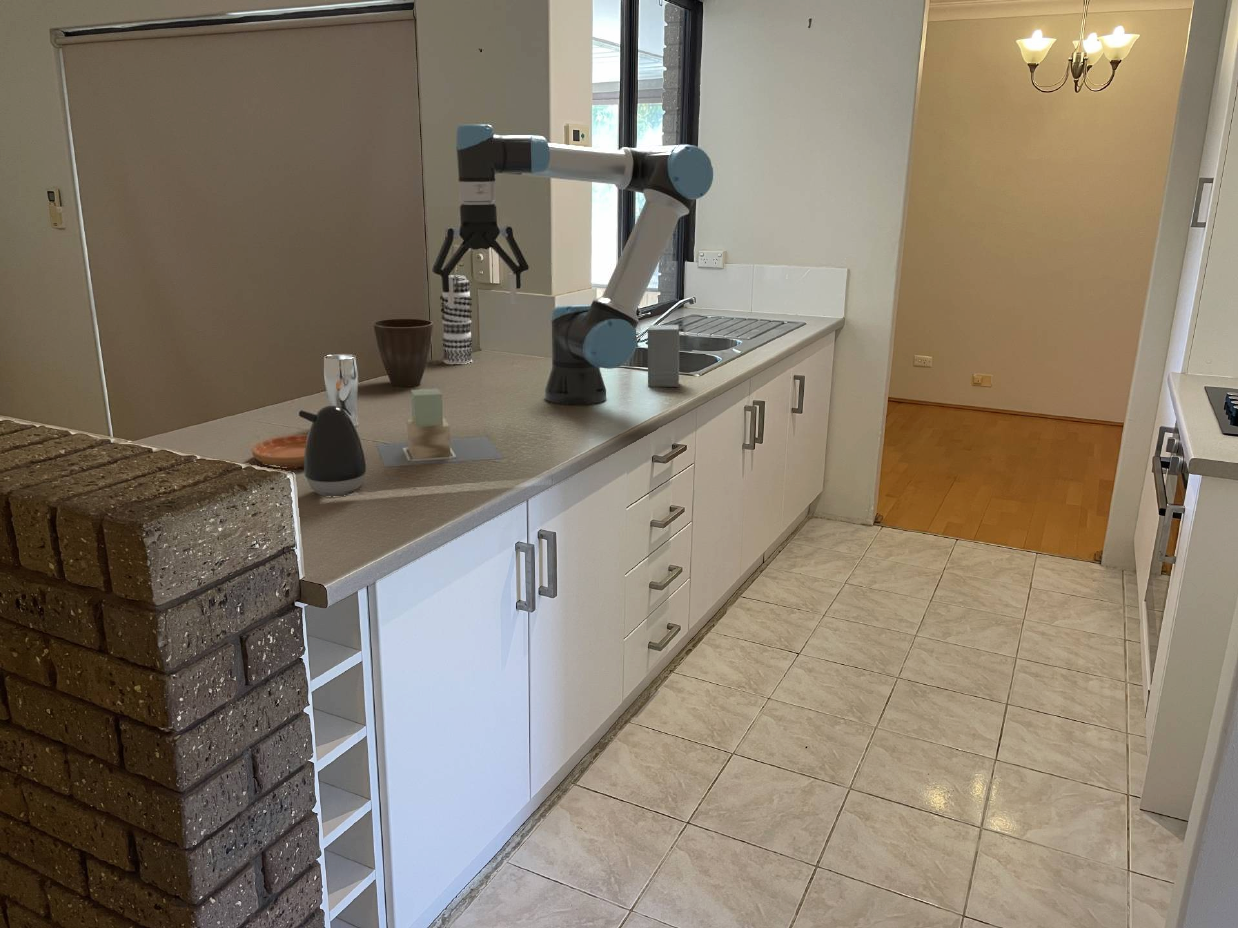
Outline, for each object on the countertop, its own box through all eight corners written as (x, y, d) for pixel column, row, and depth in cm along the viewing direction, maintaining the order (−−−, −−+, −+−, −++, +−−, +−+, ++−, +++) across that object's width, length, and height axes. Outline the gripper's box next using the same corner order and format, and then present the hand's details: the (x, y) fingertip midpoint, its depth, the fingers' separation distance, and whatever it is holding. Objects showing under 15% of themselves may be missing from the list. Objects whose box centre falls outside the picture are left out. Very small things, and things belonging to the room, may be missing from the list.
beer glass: (367, 423, 208) (363, 355, 204) (348, 430, 202) (344, 360, 197) (340, 419, 210) (335, 352, 206) (321, 427, 204) (316, 358, 200)
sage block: (438, 419, 183) (437, 388, 181) (442, 425, 179) (441, 394, 177) (412, 420, 182) (411, 390, 180) (416, 427, 177) (414, 395, 175)
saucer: (255, 475, 171) (254, 459, 170) (250, 452, 185) (249, 438, 184) (346, 467, 177) (345, 451, 176) (335, 445, 191) (334, 431, 190)
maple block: (444, 447, 186) (443, 417, 184) (450, 456, 180) (449, 426, 178) (408, 449, 184) (407, 419, 182) (412, 459, 178) (411, 428, 176)
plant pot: (444, 386, 246) (442, 324, 242) (389, 392, 238) (386, 328, 234) (421, 376, 258) (419, 317, 253) (368, 381, 250) (364, 320, 245)
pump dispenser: (311, 483, 167) (305, 399, 162) (372, 483, 167) (367, 399, 163) (297, 502, 157) (290, 413, 152) (362, 501, 158) (356, 413, 153)
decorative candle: (455, 366, 273) (453, 278, 265) (435, 361, 278) (432, 275, 271) (480, 362, 279) (478, 276, 272) (460, 358, 285) (457, 273, 278)
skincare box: (678, 383, 256) (681, 324, 251) (677, 388, 249) (680, 328, 244) (647, 382, 256) (649, 323, 252) (645, 387, 250) (647, 327, 245)
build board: (487, 442, 194) (487, 436, 194) (503, 464, 180) (503, 457, 180) (377, 450, 188) (376, 443, 187) (385, 473, 173) (384, 466, 173)
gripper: (420, 205, 189) (427, 311, 196) (540, 203, 198) (543, 305, 204) (414, 203, 196) (421, 306, 203) (531, 201, 205) (534, 300, 211)
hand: (482, 306), depth 203 cm, fingers open, 13 cm apart
